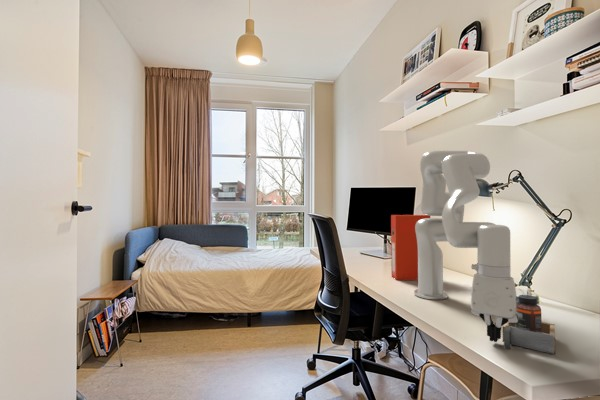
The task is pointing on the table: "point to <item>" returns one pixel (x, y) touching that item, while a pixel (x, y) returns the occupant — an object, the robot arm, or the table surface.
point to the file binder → (404, 246)
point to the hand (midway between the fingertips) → (493, 339)
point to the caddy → (546, 328)
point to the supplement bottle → (528, 314)
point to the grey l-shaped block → (528, 339)
